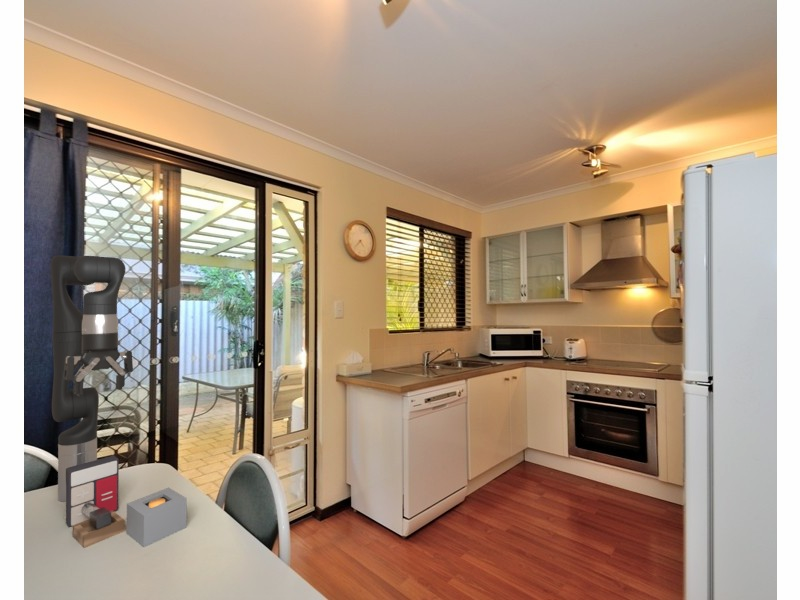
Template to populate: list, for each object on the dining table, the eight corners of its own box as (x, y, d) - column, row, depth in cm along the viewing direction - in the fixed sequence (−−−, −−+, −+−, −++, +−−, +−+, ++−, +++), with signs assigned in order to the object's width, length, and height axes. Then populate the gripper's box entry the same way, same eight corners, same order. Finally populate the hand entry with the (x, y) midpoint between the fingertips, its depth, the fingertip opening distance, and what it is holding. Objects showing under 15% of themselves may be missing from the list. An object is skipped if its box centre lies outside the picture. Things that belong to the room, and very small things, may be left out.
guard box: (126, 534, 96) (126, 503, 96) (168, 516, 104) (168, 487, 104) (143, 549, 90) (143, 515, 90) (186, 528, 98) (186, 497, 98)
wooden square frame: (72, 537, 95) (72, 525, 95) (112, 521, 102) (112, 510, 102) (84, 549, 90) (84, 537, 90) (124, 531, 97) (124, 520, 97)
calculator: (68, 529, 98) (69, 472, 98) (65, 523, 101) (65, 467, 101) (119, 511, 107) (119, 458, 107) (114, 506, 109) (115, 454, 109)
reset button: (146, 522, 97) (146, 502, 97) (161, 515, 100) (161, 496, 100) (152, 526, 95) (152, 507, 95) (167, 519, 98) (167, 500, 98)
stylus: (80, 504, 100) (96, 518, 93) (94, 499, 102) (111, 512, 95) (80, 515, 99) (96, 530, 93) (94, 510, 102) (111, 524, 95)
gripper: (125, 329, 107) (125, 385, 107) (60, 332, 95) (60, 396, 95) (137, 330, 102) (136, 389, 102) (70, 334, 91) (69, 400, 91)
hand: (100, 392), depth 99 cm, fingers open, 8 cm apart
